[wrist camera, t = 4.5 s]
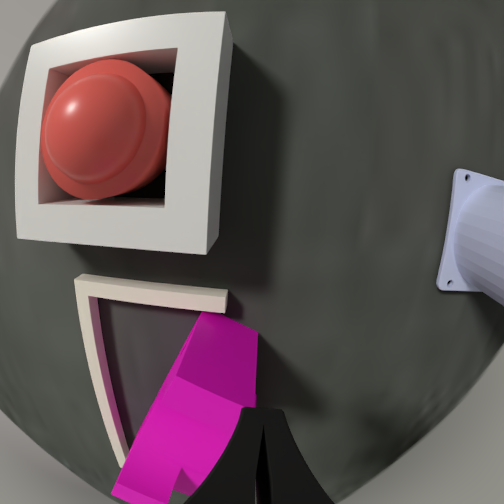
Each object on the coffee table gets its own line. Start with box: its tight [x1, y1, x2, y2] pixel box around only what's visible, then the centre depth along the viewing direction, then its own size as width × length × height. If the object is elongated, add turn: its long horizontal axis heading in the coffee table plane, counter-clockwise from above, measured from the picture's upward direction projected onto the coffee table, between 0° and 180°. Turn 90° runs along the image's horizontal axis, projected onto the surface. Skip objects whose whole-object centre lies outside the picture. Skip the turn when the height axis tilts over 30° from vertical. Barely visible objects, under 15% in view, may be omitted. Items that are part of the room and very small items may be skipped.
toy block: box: [111, 311, 258, 504], centre depth 18 cm, size 15×6×8 cm, turn 151°
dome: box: [41, 59, 172, 200], centre depth 13 cm, size 7×7×6 cm
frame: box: [74, 274, 228, 468], centre depth 21 cm, size 10×20×1 cm, turn 176°
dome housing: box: [15, 12, 233, 255], centre depth 15 cm, size 12×12×4 cm
